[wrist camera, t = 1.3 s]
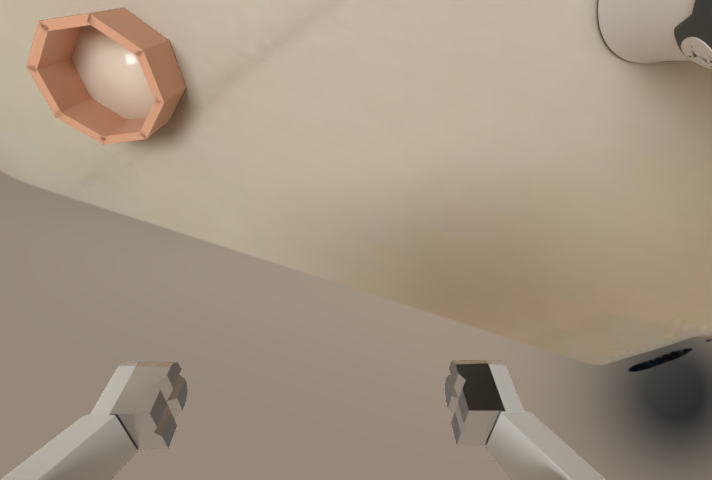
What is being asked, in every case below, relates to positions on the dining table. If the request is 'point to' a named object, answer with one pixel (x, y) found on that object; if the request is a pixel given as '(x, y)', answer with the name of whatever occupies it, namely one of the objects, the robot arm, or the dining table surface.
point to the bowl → (106, 74)
